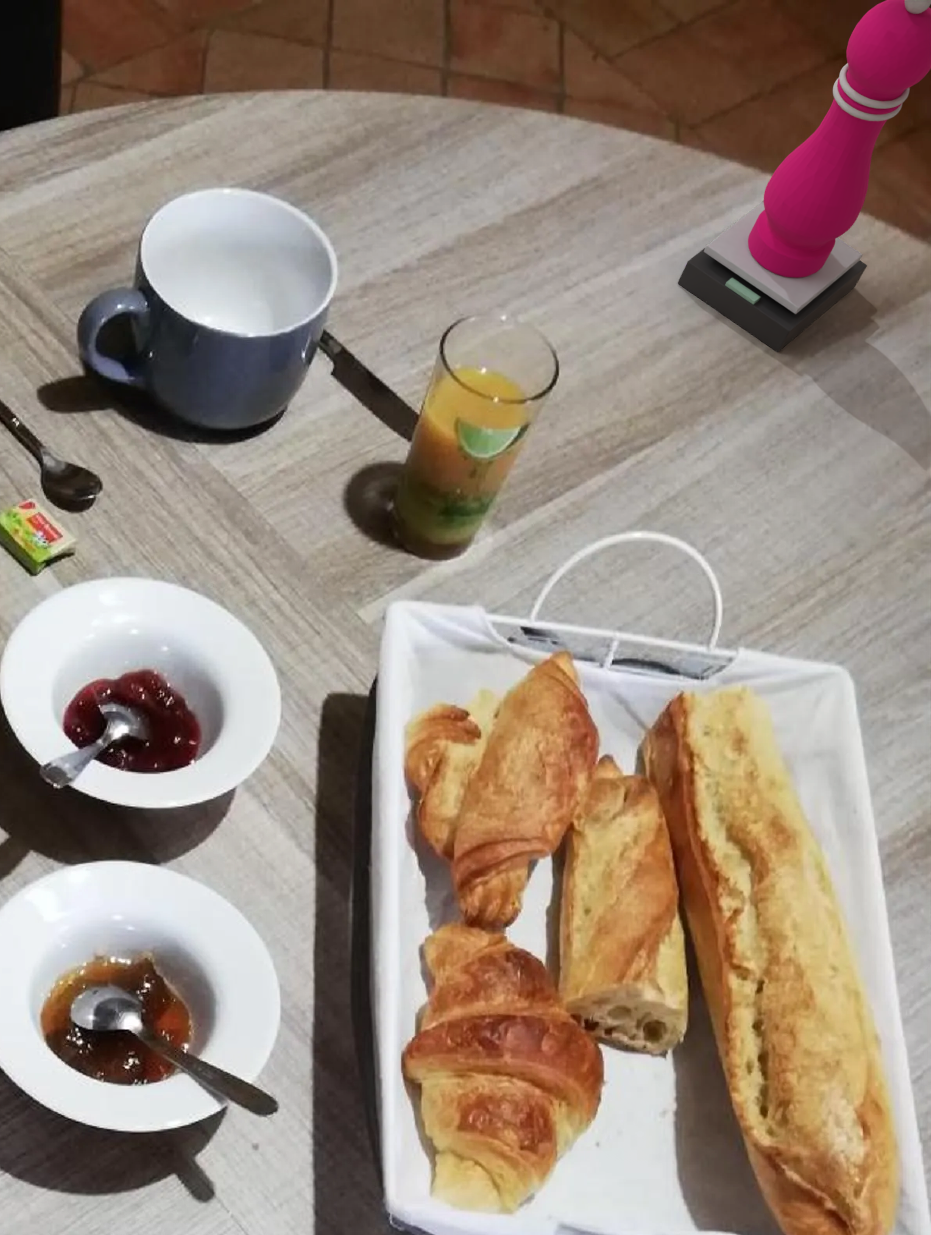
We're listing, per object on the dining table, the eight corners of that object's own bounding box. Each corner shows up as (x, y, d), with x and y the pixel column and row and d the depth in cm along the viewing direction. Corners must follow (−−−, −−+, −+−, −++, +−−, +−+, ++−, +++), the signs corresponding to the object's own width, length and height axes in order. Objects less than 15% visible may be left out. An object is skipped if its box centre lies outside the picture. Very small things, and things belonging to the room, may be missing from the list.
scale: (854, 286, 133) (875, 251, 130) (777, 352, 129) (797, 317, 127) (755, 220, 135) (773, 184, 132) (677, 283, 132) (693, 247, 129)
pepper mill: (778, 205, 131) (914, -64, 113) (849, 256, 130) (1000, -9, 111) (722, 244, 129) (852, -23, 111) (794, 296, 127) (938, 33, 109)
